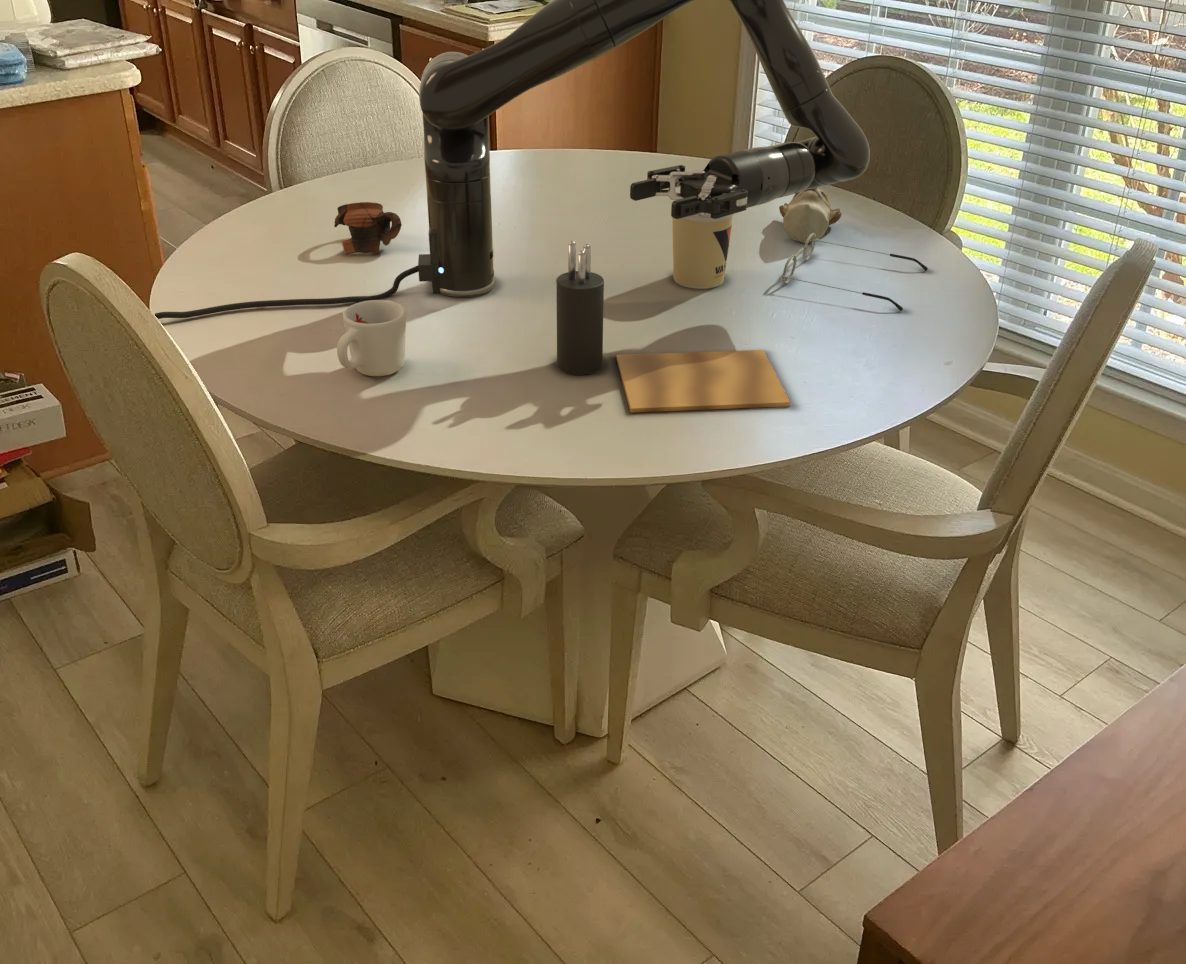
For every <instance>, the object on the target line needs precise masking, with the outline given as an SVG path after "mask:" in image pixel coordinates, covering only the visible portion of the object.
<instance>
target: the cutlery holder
mask: <svg viewBox="0 0 1186 964" xmlns="http://www.w3.org/2000/svg"><path fill="white" fill-rule="evenodd" d="M567 245H568V261H567V262H568V264H567V265H568V267H567V269H568V272H567V271H566V272H563V273H561V274H560V275H558V276H557V277H556V281H555V282H556V284H555V285H556V367H557V369H558V370H559V371H561V372H563V373H565V374H566V375H567V374H568V375H573V376H587V375H593V374H595V373H597V372H599V371H600V370H602V368H603V360H604V359H603V356H604V351H603V350H604V303H605V302H604V301H605V300H604V299H605V298H604V296H605V280H604V277H603V276H602V275H600V274H598V273H596V272H592V271H591V262H592V261H591V257H592V256H591V252H592V251H591V249H592V247H591V244H589V243H585V244H584V245H583V247H582V249H583V250H580V251H578V257H577V254H576V253H577V252H576V251H577V246H576V245H577V244H576V242H575V241H574V240H570V241H569V242H568V244H567ZM577 258H578V259H577ZM576 259H577V261H578V263H577V261H576ZM576 263H577V265H576ZM576 267H577V269H576Z"/></svg>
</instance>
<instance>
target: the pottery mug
mask: <svg viewBox="0 0 1186 964" xmlns="http://www.w3.org/2000/svg"><path fill="white" fill-rule="evenodd" d="M336 210H337V212H338V213H337V215H336V216H335V218H334V221H333V222H334V225H333V227H334V228H337V227H339V225H342V226H347V227H348V230H349V234H350V238H347V239H343V240H342V241H341V245H342V248H343V252H344V255H353V254H359V253H361V254H379V253H380V251H381V250H380V248H381V242H382V245H384V246H389V244H390V243H391V241H392V240H395V238H396V237H398V235H399V234H400V231H401V229H402V226H403V223H402V221H401V220H402V219H401V218H400V216H399V215H398V214H397V213H396V212H393V211H385V212H384V205H383V204H381V203H378V202H371V201H360V202H351V203H345V204H341V205H340V206H337V209H336Z"/></svg>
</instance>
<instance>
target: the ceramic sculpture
mask: <svg viewBox="0 0 1186 964" xmlns="http://www.w3.org/2000/svg"><path fill="white" fill-rule="evenodd" d="M778 209H779V213H780V215H781V217H782V218H783V220H782V223H783V229H784V231H785V233H786V235H787V236H788V237H789V239H791V240H793V241H797V242H799V243H802V244H805V243H806V240H807V238H808V237H809V236H810V234H812V233H815V234H816V239H818V240H819V241H820V239H822V238H823V236H824V235H825V234H826V232H827V230H828V228H829V226H831V225H834V224H836V223H837V222H838V221H839V220H840V219H841V217H842V214H843V213H842V211H841V209H840V208H834V209H833V208H832V206H831V203H830V199H829V196H828V194H827V193H826V192H825V191H823V190H822V189H819V188H813V189H807V190H803V191H800V192H798V193H795V194H793V197H792V199H791V200H790V201H789V203H787V202H784V204H782V205H779V206H778ZM808 243H813V236H812V237H811V238H810V240H809V242H808Z"/></svg>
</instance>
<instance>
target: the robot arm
mask: <svg viewBox="0 0 1186 964" xmlns="http://www.w3.org/2000/svg"><path fill="white" fill-rule="evenodd" d="M694 1H695V0H551V1H550V2H548V3H547V4H545V5H544V6H543V7H542V8H540V9H539V10H538V11H536V12H535V13H534V14H533V15H531V16H530V17H529V18H527V20H526V21H524V22H523V23H522V24H521V25H519V26H518V27H517V28H516V29H515V30H514V31H512V32H511V33H510V34H508V35H507V36H506V37H504V38H503V39H501V40H499V41H498V42H495V43H494V44H492V45H490V46H487V47H486V48H483V49H480V50H479V51H476V52H474V53H472V54H470V55H467V54H465V53H463V52H458V51H446V52H442V53H439V54H438V55H436V56H434V58H432V59H431V60H430V61H429V62H428V63H427V65H426V66H425V68H424V70H423V72H422V75H421V77H420V84H419V90H418V91H419V92H418V98H419V99H418V101H419V107H420V111H421V112H422V125H423V127H422V128H423V152H424V153H423V156H424V157H423V158H424V159H423V160H424V174H425V187H426V201H427V219H428V246H429V247H428V248H429V253H424V254H423V253H422V254H421V253H419V254H418V258H417V259H418V260H417V261H418V262H417V265H415V266H413V267H411V268H408V269H405V270H404V271H402V272H401V273H399V274H398V275H397V276H396V277H395V279H394V281H393V283H392V286H391V287H390V289H388V290H387V291H385V292H382V293H380V294H375V295H355V296H353V295H351V296H342V297H328V298H327V297H326V298H325V297H324V298H292V299H291V298H289V299H270V300H268V299H267V300H255V301H244V302H235V303H228V304H227V303H226V304H221V305H216V306H215V305H214V306H211V307H210V306H209V307H205V308H200V309H193V310H186V311H160V312H156V313H154V314H155V316H156V317H157V318H158V320H160V319H189V318H194V317H195V318H196V317H200V316H206V315H210V314H211V315H212V314H217V313H221V312H228V311H235V310H243V309H254V308H266V307H267V308H268V307H291V306H310V305H312V306H314V305H315V306H318V305H319V306H321V305H340V304H348V303H349V304H350V303H359V302H363V301H369V300H385V299H387V298H389V297H391V296H393V295H394V294H395V293H396V292H398V289H399V287H400V284H401V282H402V281H403V280H404V279H405V278H407V277H409V276H411V275H414V274H416V273H418V281H419V282H420V283H421V282H431V288H432V289H431V290H432V294H433V295H443V296H447V297H453V298H470V297H476V296H480V295H484V294H487V293H488V292H490V291H492V290H493V289H494V288H495V285H496V284H495V282H496V280H495V279H496V278H495V269H494V252H495V250H494V242H493V241H494V239H493V217H492V214H493V213H492V189H491V186H492V185H491V162H490V161H491V155H490V154H491V153H490V150H491V149H490V131H489V116H491V115H492V114H493V113H495V112H496V111H498V110H499V109H501V108H502V107H504V106H505V105H507V104H508V103H510V102H511V101H514V99H516V98H518V97H519V96H521V95H522V94H524V93H526V92H528V91H530V90H532V89H534V88H536V87H538V86H541V85H543V84H545V83H548V82H550V81H552V80H554V79H556V78H559V77H561V76H562V75H565V74H568V73H569V72H571V71H573V70H576V69H577V68H579V67H581V66H584V65H586V64H588V63H590V62H592V61H594V60H596V59H598V58H600V57H602V56H604V55H605V54H608V53H609V52H612V51H614V50H615V49H616V48H620V47H621V46H622V45H624V44H626V43H628V42H629V41H631V40H633V39H635V38H636V37H638V36H639V35H641V34H642V33H644V32H646V31H647V30H648V29H651V28H652V27H654V26H655V25H657V24H658V23H659V22H661V21H662V20H663V19H665V18H666V17H668V16H669V15H671V14H672V13H674V12H675V11H677V10H678V9H680V8H682V7H684V6H685V5H688V4H689V3H691V2H694ZM728 1H729V3H730V4H731V6H732V8H733V10H734V11H735V13H736V15H737V16H738V18H739V20H740V22H741V23H742V26H743V27H744V29H745V31H746V34H747V36H748V38H749V39H750V42H751V45H752V46H753V49H754V50H755V53H756V55H757V58H758V60H759V63H760V65H761V67H762V69H763V72H764V74H765V76H766V78H767V80H768V83H769V86H770V88H771V90H772V92H773V94H774V96H775V98H776V100H777V102H778V105H779V106H780V108H781V110H782V114H783V115H784V117H785V119H786V120H787V122H788V123H789V125H791V126H792V127H793V128H799V129H808V130H810V131H811V132H812V133H813V134H814V135H815V136H814V137H810V138H807V139H803V140H799V141H797V142H796V141H788V142H782V143H778V144H772V145H768V146H757V147H756V146H755V147H751V148H746V149H742V150H736V151H733V152H729V153H724V154H719V155H715V156H714V157H712V158H711V159H710V160H709V161H708V163H707V164H706V166H705V167H704V169H693V170H691V171H686V166H685V165H683V164H677V165H673V166H667V167H663V168H658V169H653V170H648V171H647V175H646V179H645V180H639V181H635V182H632V183H631V184H630V187H629V198H630V200H632V201H635V202H638V201H641V200H646V199H649V198H654V197H668V198H669V199H670V200H672V202H671V210H670V216H671V218H672V219H673V218H675V219H680V218H684V217H687V216H691V215H695V214H698V215H700V216H705V215H707V213H709V214H711V215H710V217H711V218H713V219H717V218H721V217H724V216H728V215H731V214H734V215H735V214H738V213H741V212H745V211H747V209H749V208H752V207H757V206H760V205H764V204H767V203H769V202H771V201H774V200H776V199H780V198H784V197H788V196H792V195H795V194H796V193H798V192H800V191H803V190H807V189H813V188H817V189H819V188H822V187H826V186H831V185H834V184H839V183H842V182H847V181H851V180H855V179H857V178H859V177H861V176H862V175H863V174H865V172H866V171H867V170H868V167H869V165H870V161H871V160H870V159H871V150H870V145H869V141H868V138H867V136H866V135H865V133H864V131H863V129H862V128H861V127H860V126H859V124H858V123H857V122H856V121H855V119H854V118H853V117H852V116H851V114H850V113H849V112H848V111H847V109H846V108H845V107H844V105H843V104H842V103H841V102H840V101H839V100H838V99H837V98H836V97H835V95H834V94H833V92H832V89H831V87H830V85H829V82H828V80H827V78H826V76H825V74H824V71H823V69H822V68H821V65H820V63H819V61H818V59H817V57H816V54H815V53H814V50H813V49H812V47H811V46H810V44H809V42H808V40H807V38H805V35H804V33H803V32H802V31H801V29H800V27H799V26H798V24H797V22H796V20H795V19H794V17H793V16H792V14H791V12H790V10H789V9H788V7H787V4H786V3H785V1H784V0H728ZM676 188H679V192H676Z"/></svg>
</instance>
